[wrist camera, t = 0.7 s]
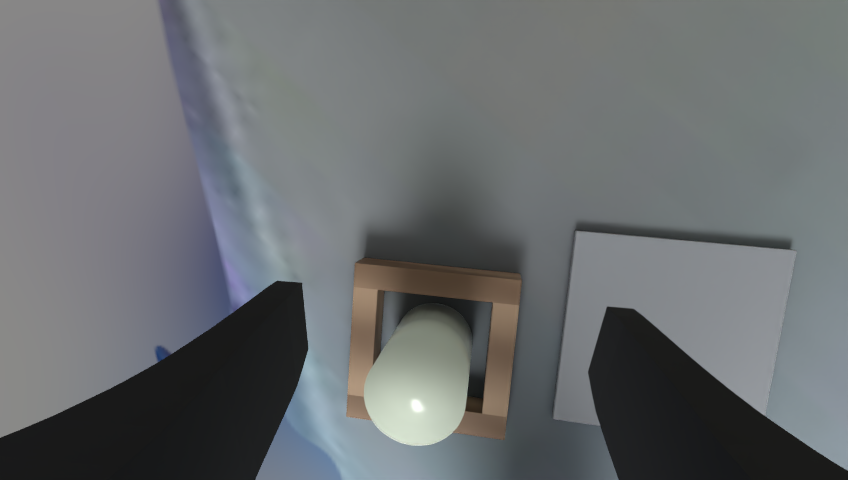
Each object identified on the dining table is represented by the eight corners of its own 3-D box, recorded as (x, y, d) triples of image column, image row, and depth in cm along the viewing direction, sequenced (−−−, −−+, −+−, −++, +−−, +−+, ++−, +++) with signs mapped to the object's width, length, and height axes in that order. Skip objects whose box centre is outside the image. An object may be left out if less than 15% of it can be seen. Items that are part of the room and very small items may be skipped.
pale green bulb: (468, 381, 30) (461, 453, 22) (393, 371, 31) (360, 437, 23) (475, 307, 29) (470, 354, 22) (399, 299, 30) (366, 341, 22)
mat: (753, 443, 28) (758, 448, 28) (552, 415, 30) (553, 419, 29) (791, 249, 26) (796, 250, 26) (575, 230, 28) (576, 231, 27)
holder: (503, 423, 30) (504, 440, 28) (355, 401, 31) (346, 416, 29) (519, 273, 29) (521, 280, 27) (363, 257, 30) (355, 263, 28)
